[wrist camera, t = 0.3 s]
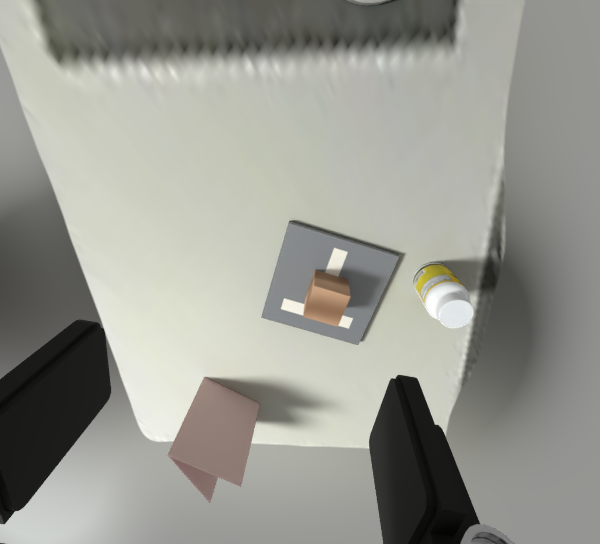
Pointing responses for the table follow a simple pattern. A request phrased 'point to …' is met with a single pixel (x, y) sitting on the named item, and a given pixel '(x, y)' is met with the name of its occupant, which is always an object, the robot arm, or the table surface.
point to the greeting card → (215, 437)
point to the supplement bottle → (443, 295)
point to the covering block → (326, 298)
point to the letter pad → (333, 260)
